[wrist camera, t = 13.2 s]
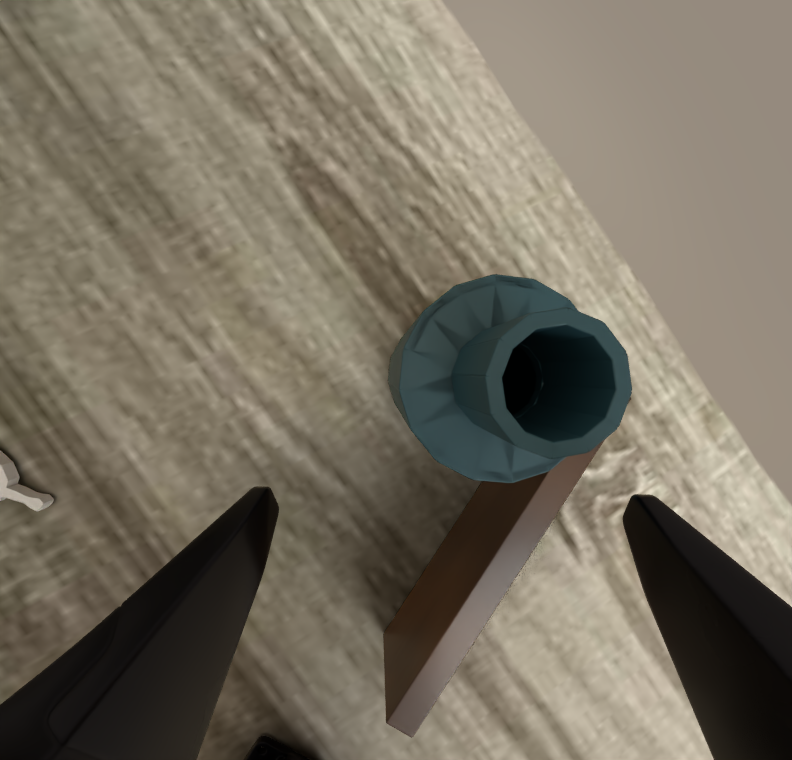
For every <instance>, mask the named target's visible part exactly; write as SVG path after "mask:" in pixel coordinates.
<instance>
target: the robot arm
mask: <svg viewBox="0 0 792 760" xmlns="http://www.w3.org/2000/svg"><path fill="white" fill-rule="evenodd" d="M278 513H279V506H278V503H277V501H276V499H275V497H274V494H273V492H272V490H271V488H269V487H262V486H257V487H254V488H252V489H251V490H249V491H248V492H247V493H246V494H245V495H244V496H243V497H242V498H240V499H239V500H238V501H237V502H236V503H235V504H234V505H233V506H231V507H230V508H229V509H228V510H227V511H226V512H225V513H224V514H222V515H221V516H220V517H219V518H218V519H217V520H216V521H215V522H213V523H212V524H211V525H210V526H209V527H208V528H207V529H206V530H204V531H203V532H202V533H201V534H200V535H199V536H198V537H197V538H195V539H194V540H193V541H192V542H191V543H190V544H189V545H188V546H186V547H185V548H184V549H183V550H182V551H181V552H180V553H179V554H177V555H176V556H175V557H174V558H173V559H172V560H171V561H170V562H168V563H167V564H166V565H165V566H164V567H163V568H162V569H161V570H159V571H158V572H157V573H156V574H155V575H154V576H153V577H152V578H150V579H149V580H148V581H147V582H146V583H145V584H144V585H142V586H141V587H140V588H139V589H138V590H137V591H136V592H135V593H133V594H132V595H131V596H130V597H129V598H128V599H127V600H126V601H124V602H123V603H122V605H121V606H120V607H118V608H116V609H115V610H114V611H113V612H112V613H111V614H110V615H109V616H107V617H106V618H105V619H104V620H103V621H102V622H101V623H99V624H98V625H97V626H96V627H95V628H94V629H93V630H91V631H90V632H89V633H88V634H87V635H86V636H84V637H83V638H82V639H81V640H80V641H79V642H77V643H76V644H75V645H74V646H73V647H71V648H70V649H69V650H68V651H67V652H65V653H64V654H63V655H62V656H60V657H59V658H58V659H57V660H56V661H54V662H53V663H52V664H51V665H49V666H48V667H47V668H46V669H45V670H43V671H42V672H41V673H40V674H38V675H37V676H36V677H34V678H33V679H32V680H31V681H29V682H28V683H27V684H26V685H24V686H23V687H22V688H21V689H19V690H18V691H17V692H16V693H14V694H13V695H12V696H11V697H9V698H8V699H7V700H6V701H4V702H3V703H2V704H1V705H0V760H196V759H197V756H198V753H199V751H200V748H201V745H202V742H203V740H204V737H205V734H206V731H207V728H208V726H209V723H210V720H211V717H212V715H213V712H214V709H215V706H216V703H217V701H218V698H219V695H220V692H221V690H222V687H223V684H224V681H225V678H226V676H227V673H228V670H229V667H230V665H231V662H232V659H233V656H234V653H235V651H236V648H237V645H238V642H239V639H240V637H241V634H242V631H243V628H244V626H245V623H246V620H247V617H248V614H249V612H250V609H251V606H252V603H253V601H254V598H255V595H256V592H257V589H258V587H259V584H260V581H261V578H262V575H263V572H264V569H265V565H266V562H267V558H268V554H269V550H270V546H271V542H272V538H273V534H274V530H275V526H276V522H277V518H278ZM623 525H624V529H625V532H626V535H627V538H628V542H629V545H630V548H631V552H632V555H633V558H634V562H635V565H636V568H637V571H638V575H639V578H640V581H641V584H642V587H643V590H644V593H645V596H646V598H647V601H648V603H649V606H650V608H651V611H652V613H653V615H654V618H655V620H656V623H657V625H658V627H659V630H660V632H661V634H662V637H663V639H664V642H665V644H666V646H667V649H668V651H669V654H670V656H671V658H672V661H673V663H674V665H675V668H676V670H677V673H678V675H679V677H680V680H681V682H682V685H683V687H684V689H685V692H686V694H687V696H688V699H689V701H690V704H691V706H692V708H693V711H694V713H695V716H696V718H697V720H698V723H699V725H700V727H701V730H702V732H703V735H704V737H705V739H706V742H707V744H708V746H709V749H710V751H711V754H712V756H713V758H714V760H792V607H791V606H790V605H788V604H787V603H786V602H785V601H784V600H782V599H781V598H780V597H779V596H777V595H776V594H775V593H774V592H772V591H771V590H770V589H769V588H768V587H766V586H765V585H764V584H763V583H761V582H760V581H759V580H758V579H756V578H755V577H754V576H753V575H752V574H750V573H749V572H748V571H747V570H745V569H744V568H743V567H742V566H740V565H739V564H738V563H737V562H736V561H734V560H733V559H732V558H731V557H729V556H728V555H727V554H726V553H724V552H723V551H722V550H721V549H719V548H718V547H717V546H716V545H715V544H713V543H712V542H711V541H710V540H708V539H707V538H706V537H705V536H703V535H702V534H701V533H700V532H699V531H697V530H696V529H695V528H694V527H692V526H691V525H690V524H689V523H687V522H686V521H685V520H684V519H683V518H681V517H680V516H679V515H678V514H676V513H675V512H674V511H673V510H671V509H670V508H669V507H668V506H667V505H665V504H664V503H663V502H662V501H660V500H659V499H658V498H656V497H655V496H653V495H639V494H636V495H633V496H632V497H631V498H630V501H629V503H628V505H627V508H626V510H625V512H624V515H623ZM263 747H264V748H263ZM244 760H309V759H308V758H306V757H304V756H302V755H301V754H299V753H297V752H295V751H293V750H292V749H290V748H288V747H286V746H284V745H283V744H281V743H279V742H277V741H275V740H274V739H272V738H270V737H268V736H261V737H259V738H258V739H257V740H256V742H255V743H254V745H253V746H252V748H251V749H250V751H249V752H248V754H247V755H246V757H245V759H244Z"/></svg>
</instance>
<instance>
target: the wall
mask: <svg viewBox="0 0 792 760" xmlns="http://www.w3.org/2000/svg"><path fill="white" fill-rule="evenodd" d="M630 400H631V397H630V399H629V401H630ZM629 401H628V403H629ZM604 440H605V439H604ZM604 440H603V441H602V442H601V443H600V444H598V445H597V446H596V447H595V448H594V449H592V450H591V451H590V452H588V453H584V454H579V455H573V456H568V457H566V458H565V459H564V460H562V461H561V462H560V463H559V464H558V465H556V466H555V467H554V468H553V469H552V470H549V471H548V472H545V473H542V474H539V475H536V476H533V477H530V478H526V479H523V480H520V481H517V482H514V483H503V482H491V481H482V483H481V484H480V486H479V487H478V489H477V490H476V492H475V494H474V495H473V497H472V498H471V500H470V501H469V503H468V504H467V506H466V507H465V509H464V511H463V512H462V514H461V515H460V517H459V518H458V520H457V521H456V523H455V524H454V526H453V527H452V529H451V531H450V532H449V534H448V535H447V537H446V538H445V540H444V541H443V543H442V544H441V546H440V548H439V549H438V551H437V552H436V554H435V555H434V557H433V558H432V560H431V561H430V563H429V564H428V566H427V568H426V569H425V571H424V572H423V574H422V575H421V577H420V578H419V580H418V581H417V583H416V585H415V586H414V588H413V589H412V591H411V592H410V594H409V595H408V597H407V598H406V600H405V602H404V603H403V605H402V606H401V608H400V609H399V611H398V612H397V614H396V615H395V617H394V618H393V620H392V622H391V623H390V625H389V626H388V628H387V629H386V631H385V632H384V634H383V638H384V669H385V701H386V723H387V724H389V725H391V726H392V727H394V728H396V729H398V730H399V731H401V732H403V733H404V734H406V735H408V736H410V737H413V736H414V735H415V733H416V732H417V730H418V728H419V727H420V725H421V724H422V722H423V721H424V719H425V718H426V716H427V714H428V713H429V711H430V710H431V708H432V707H433V705H434V704H435V702H436V701H437V699H438V697H439V696H440V694H441V693H442V691H443V690H444V688H445V687H446V685H447V683H448V682H449V680H450V679H451V677H452V676H453V674H454V673H455V671H456V670H457V668H458V666H459V665H460V663H461V662H462V660H463V659H464V657H465V656H466V654H467V652H468V651H469V649H470V648H471V646H472V645H473V643H474V642H475V640H476V638H477V637H478V635H479V634H480V632H481V631H482V629H483V628H484V626H485V625H486V623H487V621H488V620H489V618H490V617H491V615H492V614H493V612H494V611H495V609H496V607H497V606H498V604H499V603H500V601H501V600H502V598H503V597H504V595H505V594H506V592H507V590H508V589H509V587H510V586H511V584H512V583H513V581H514V580H515V578H516V576H517V575H518V573H519V572H520V570H521V569H522V567H523V566H524V564H525V563H526V561H527V559H528V558H529V556H530V555H531V553H532V552H533V550H534V549H535V547H536V545H537V544H538V542H539V541H540V539H541V538H542V536H543V535H544V533H545V532H546V530H547V528H548V527H549V525H550V524H551V522H552V521H553V519H554V518H555V516H556V514H557V513H558V511H559V510H560V508H561V507H562V505H563V504H564V502H565V501H566V499H567V497H568V496H569V494H570V493H571V491H572V490H573V488H574V487H575V485H576V483H577V482H578V480H579V479H580V477H581V476H582V474H583V473H584V471H585V469H586V468H587V466H588V465H589V463H590V462H591V460H592V459H593V457H594V456H595V454H596V452H597V451H598V449H599V448H600V446H601V445H602V443H603V442H604Z"/></svg>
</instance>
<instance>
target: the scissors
mask: <svg viewBox="0 0 792 760" xmlns="http://www.w3.org/2000/svg"><path fill="white" fill-rule="evenodd" d="M19 478H20V477H19V474H18V472H17V470H16V467H15V465H14V463H13V461H12V460H10V459H9V458H8V457H7V456H6V455H5V454H4V453H3V452H2V451H1V450H0V501H2V500H4V499H6V498H8V499H12V500H15V501H18V502H21V503H25V504H26V505H27V506H28V507H29V508H31V509H33V510H35V511H40V510H42V509H44V508H47V507H49V506H50V505H51V504H52V503H53V501H54V499H53V498H52V497H51V495H50V494H42V493H39V492H36V491H34V490H32V489H30V488H28V487H25V486H22V485H19V484H18V481H19Z"/></svg>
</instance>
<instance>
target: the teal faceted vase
mask: <svg viewBox="0 0 792 760" xmlns="http://www.w3.org/2000/svg"><path fill="white" fill-rule="evenodd" d="M388 383H389V386H390V390H391V394H392V396H393V400H394V403H395V404H396V406H397V408H398V409H399V411H400V413H401V414H402V416H403V418H404V419H405V421H406V423H407V424H408V426H409V428H410V429H411V431H412V432H413V433H414V435H415V436H416V437H417V438H418V439H419V441H420V442H421V443H422V444H423V446H424V447H425V448H426V449H427V450H428V452H429V453H430V454H431V455H432V457H433V458H434V459H435V460H437V462H439V463H441V464H443V465H445V466H446V467H448V468H450V469H452V470H454V471H456V472H458V473H460V474H462V475H464V476H465V477H467V478H469V479H472V480H479V481H491V482H503V483H514V482H517V481H520V480H523V479H526V478H530V477H533V476H536V475H539V474H542V473H545V472H548V471H549V470H552V469H553V468H554V467H555V466H556V465H558V464H559V463H560V462H561V461H562V460H564V459H565V458H566V457H568V456H573V455H579V454H584V453H588V452H590V451H591V450H592V449H594V448H595V447H596V446H597V445H598V444H600V443H601V442H602V441H603V440H604V439H606V438H607V437H608V436H609V435H610V434H611V433H613V432H614V431H615V430H616V429H617V427H619V425H620V422H621V420H622V417H623V414H624V412H625V409H626V406H627V404H628V401H629V399H630V396H631V393H632V392H631V391H632V385H631V378H630V370H629V363H628V356H627V353H626V351H625V349H624V348H623V347H622V345H621V344H620V343H619V341H618V340H617V339H616V337H615V336H614V335H613V333H612V332H611V331H610V330H609V328H608V327H607V326H606V324H605V323H603V322H602V321H600V320H598V319H595V318H593V317H590V316H588V315H586V314H583V313H581V312H578V310H577V309H576V308H575V306H574V305H573V304H572V302H571V301H570V300H568V298H566V297H564V296H563V295H561V294H559V293H557V292H556V291H554V290H552V289H551V288H549V287H547V286H545V285H544V284H542V283H540V282H538V281H537V280H534V279H529V278H521V277H513V276H505V275H497V274H495V275H490V276H486V277H483V278H479V279H476V280H472V281H469V282H465V283H462V284H458V285H456V286H454V287H452V288H451V289H450V290H449V291H447V292H446V293H445V294H444V295H443V296H441V297H440V298H439V299H438V300H436V301H435V302H434V303H433V304H431V305H430V306H429V307H428V308H426V309H425V310H424V311H423V312H422V314H421V315H420V316H419V317H418V318H417V320H416V321H415V322H414V323H413V325H412V326H411V327H410V328H409V329H408V331H407V332H406V333H405V334H404V336H403V337H402V338H401V339H400V341H399V343H398V345H397V347H396V348H395V350H394V352H393V354H392V356H391V359H390V365H389V376H388Z"/></svg>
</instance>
